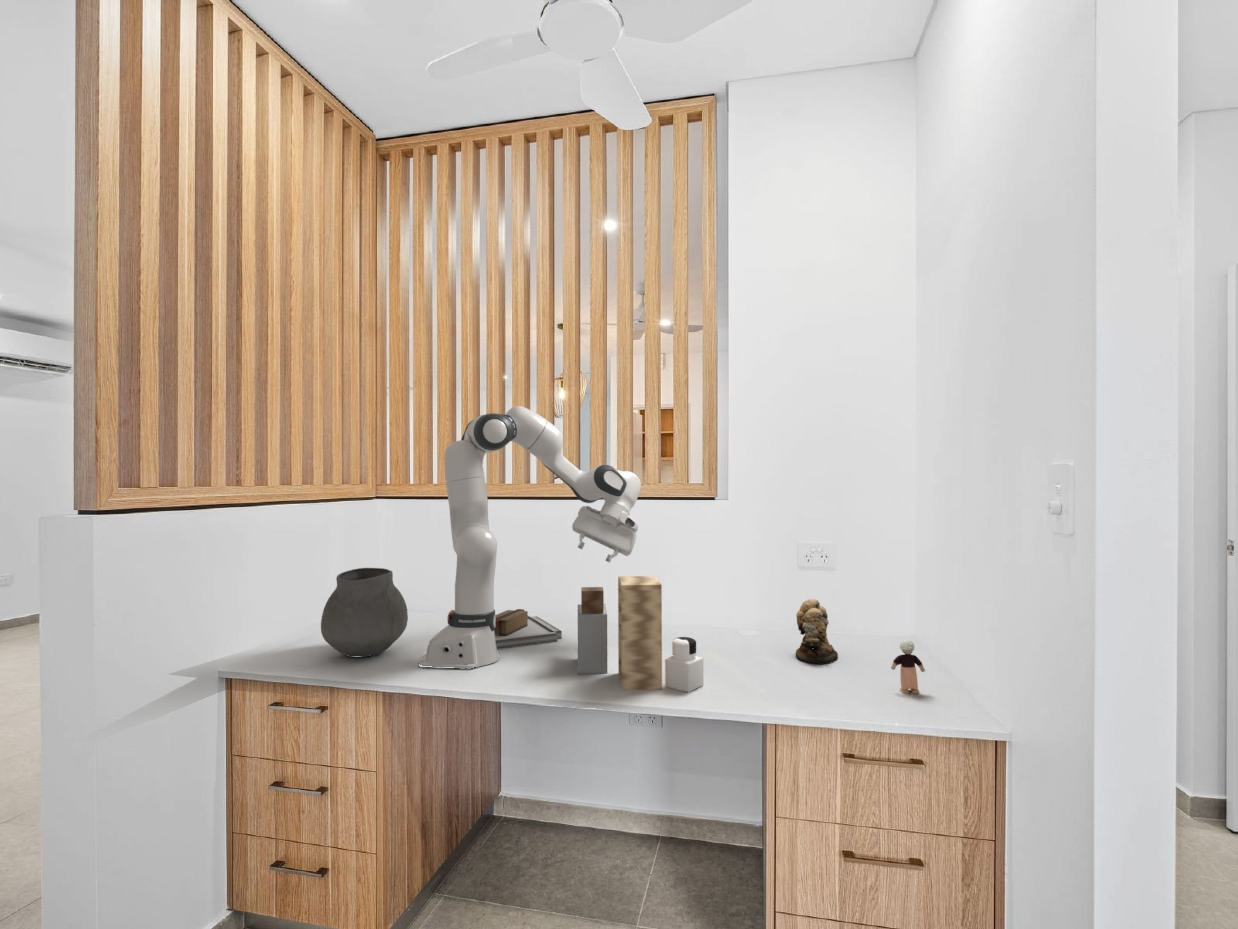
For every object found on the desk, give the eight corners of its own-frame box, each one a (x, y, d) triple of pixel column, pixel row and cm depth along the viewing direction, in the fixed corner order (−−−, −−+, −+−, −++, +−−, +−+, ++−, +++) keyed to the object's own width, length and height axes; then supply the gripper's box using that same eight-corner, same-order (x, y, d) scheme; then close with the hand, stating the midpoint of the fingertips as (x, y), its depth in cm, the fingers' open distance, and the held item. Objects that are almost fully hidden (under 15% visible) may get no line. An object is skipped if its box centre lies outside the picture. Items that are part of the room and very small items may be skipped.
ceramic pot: (300, 662, 182) (301, 575, 182) (358, 641, 205) (359, 564, 206) (371, 669, 175) (372, 578, 175) (423, 646, 198) (424, 566, 198)
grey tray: (451, 632, 218) (451, 610, 219) (534, 623, 232) (534, 603, 232) (471, 654, 191) (471, 629, 192) (564, 642, 205) (564, 619, 205)
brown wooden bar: (581, 613, 171) (581, 591, 171) (581, 600, 188) (581, 580, 189) (603, 613, 171) (603, 590, 171) (601, 600, 189) (601, 580, 189)
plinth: (577, 673, 170) (577, 614, 170) (577, 659, 184) (577, 603, 184) (607, 673, 170) (607, 613, 171) (605, 658, 184) (605, 603, 185)
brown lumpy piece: (836, 668, 175) (835, 606, 175) (792, 664, 179) (791, 603, 179) (838, 650, 192) (837, 594, 192) (798, 647, 196) (797, 592, 196)
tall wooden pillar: (622, 690, 157) (621, 585, 157) (618, 673, 171) (618, 576, 171) (662, 689, 157) (661, 584, 158) (655, 672, 171) (654, 576, 172)
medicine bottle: (680, 679, 165) (680, 633, 165) (704, 685, 160) (703, 638, 160) (664, 687, 159) (664, 639, 159) (688, 693, 155) (688, 643, 155)
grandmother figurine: (918, 688, 157) (918, 637, 157) (926, 694, 153) (926, 641, 154) (888, 689, 157) (887, 638, 157) (895, 694, 153) (895, 642, 153)
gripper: (583, 499, 198) (563, 536, 191) (642, 527, 196) (624, 565, 189) (582, 507, 203) (562, 543, 197) (639, 534, 201) (622, 572, 195)
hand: (593, 554), depth 193 cm, fingers open, 8 cm apart
